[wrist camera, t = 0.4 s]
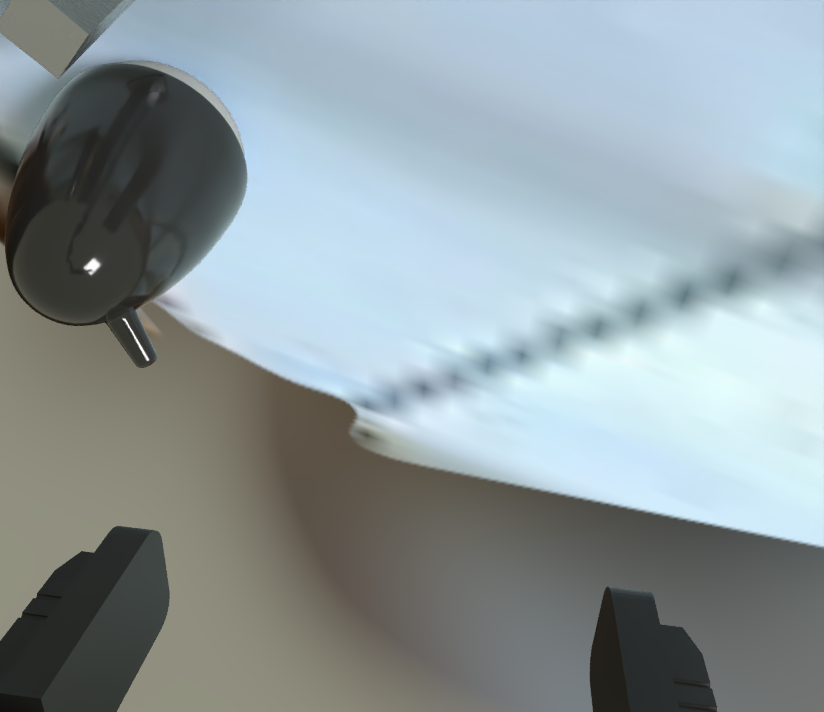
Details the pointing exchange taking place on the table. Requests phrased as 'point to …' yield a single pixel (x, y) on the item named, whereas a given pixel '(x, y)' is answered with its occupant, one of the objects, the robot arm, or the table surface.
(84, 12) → the post
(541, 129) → the table surface
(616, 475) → the table surface
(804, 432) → the table surface
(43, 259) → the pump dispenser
